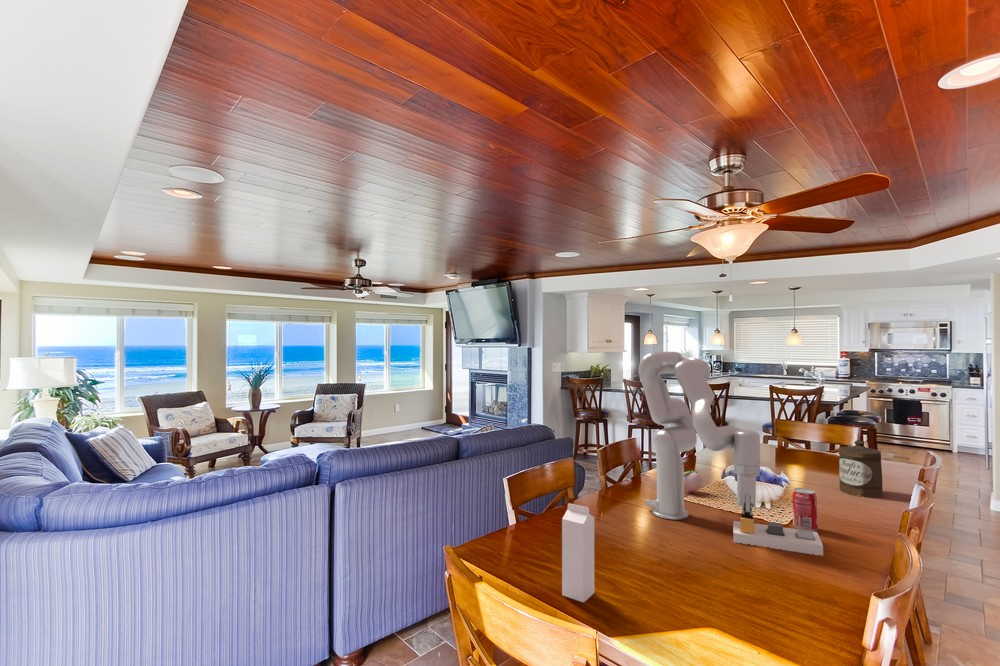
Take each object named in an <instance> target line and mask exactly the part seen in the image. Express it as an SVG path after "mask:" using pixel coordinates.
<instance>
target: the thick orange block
mask: <svg viewBox="0 0 1000 666" xmlns="http://www.w3.org/2000/svg"><path fill="white" fill-rule="evenodd" d="M739 522H740V531H741V532H746V533H755V532H754V524H755V519H754V518H753V519H750V518H742V516H740V517H739Z"/></svg>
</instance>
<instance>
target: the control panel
mask: <svg viewBox="0 0 1000 666" xmlns="http://www.w3.org/2000/svg"><path fill="white" fill-rule="evenodd" d="M732 523H733V524H732V525H733V527H732V530H733V531H732V532H733V533H732V534H733V537H732V538H733V540H732V541H733V543H735V544H741V543H742V544H743V545H748V544H750V546H754V545H757V546H756V547H761V546H763V548H767V547H769V549H775V550H780V549H781V550H783V551H789V552H794V553H795V552H796V553H801V554H807V555H813V554H814V556H819V555H821V556H822V557H824V545H823V542H822V540H821V537H820V536H819V533H818V532H817V531H815V532H813V540H806V539H799V538H797V537H796V528H790V527H789V528H788V527H783V536H779V535H772V534H768V524H762V523H754V532H755V533H746V532H741V531H740V520H739V521H738V520H733V521H732Z"/></svg>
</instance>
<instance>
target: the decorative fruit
mask: <svg viewBox="0 0 1000 666" xmlns="http://www.w3.org/2000/svg"><path fill="white" fill-rule="evenodd" d="M702 483H703V479H702V476H701V475H700V474H699V473H698V472H697V470H692V469H691V468H690V469H689V470H688V471H684V491H686V492H688V493H689V494H690V493H693V492H695V491H698V490H699V489H700V488H701V487H702V485H703V484H702Z"/></svg>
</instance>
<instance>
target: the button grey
mask: <svg viewBox="0 0 1000 666" xmlns="http://www.w3.org/2000/svg"><path fill="white" fill-rule="evenodd" d="M795 529H796V537H797V538H799V539H806V540H813V530H812V528H811V527H805V526H798V525H796V528H795Z"/></svg>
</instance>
